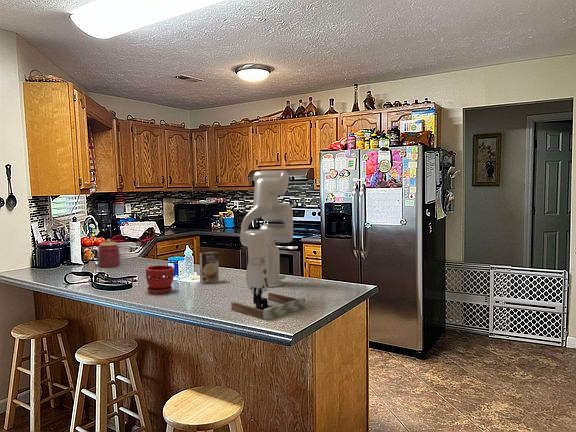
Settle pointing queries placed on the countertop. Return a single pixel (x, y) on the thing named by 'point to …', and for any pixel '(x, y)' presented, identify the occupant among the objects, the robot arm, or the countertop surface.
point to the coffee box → (209, 267)
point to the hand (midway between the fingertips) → (257, 303)
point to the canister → (108, 254)
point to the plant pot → (159, 278)
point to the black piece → (262, 301)
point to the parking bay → (274, 311)
